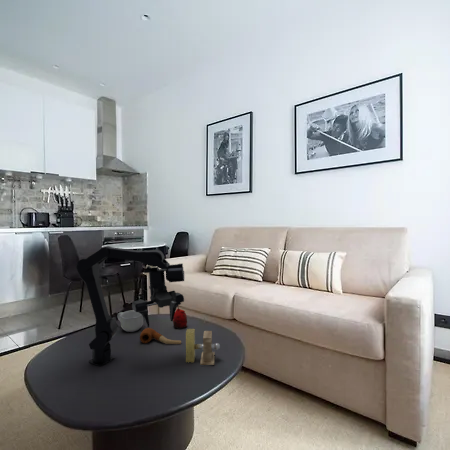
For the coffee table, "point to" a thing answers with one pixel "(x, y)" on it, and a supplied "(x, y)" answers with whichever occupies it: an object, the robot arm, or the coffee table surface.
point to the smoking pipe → (155, 337)
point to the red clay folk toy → (180, 319)
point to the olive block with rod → (194, 345)
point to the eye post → (207, 349)
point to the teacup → (130, 320)
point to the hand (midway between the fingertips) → (160, 324)
